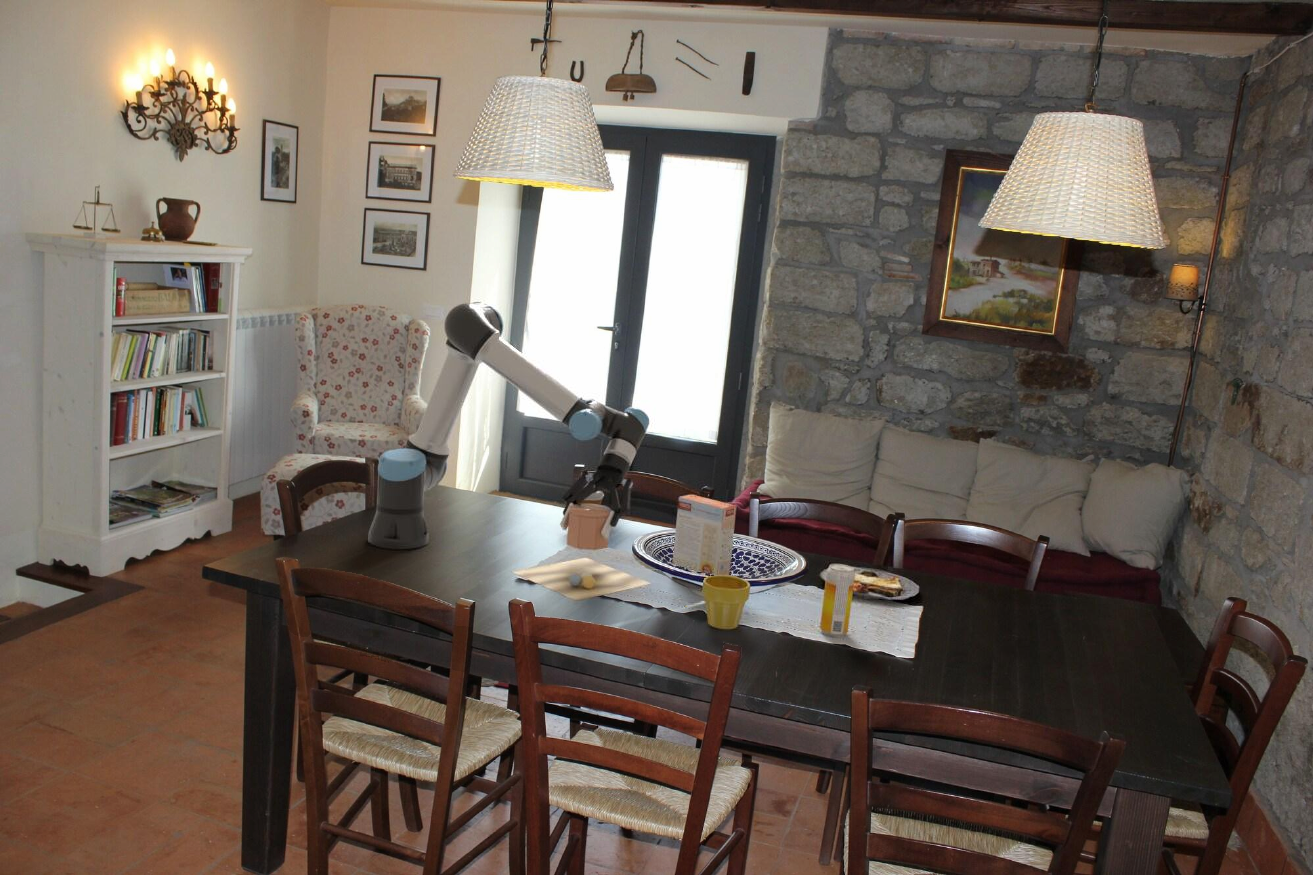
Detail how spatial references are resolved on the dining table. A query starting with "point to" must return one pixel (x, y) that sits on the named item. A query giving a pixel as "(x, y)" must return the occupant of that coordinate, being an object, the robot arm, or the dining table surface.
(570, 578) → the grey ball
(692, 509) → the cracker box
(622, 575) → the bamboo mat
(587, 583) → the marble amber
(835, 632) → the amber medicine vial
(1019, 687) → the dining table surface
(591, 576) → the marble ivory
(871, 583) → the food plate
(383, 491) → the robot arm
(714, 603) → the plant pot
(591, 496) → the disposable coffee cup
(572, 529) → the terracotta cup
